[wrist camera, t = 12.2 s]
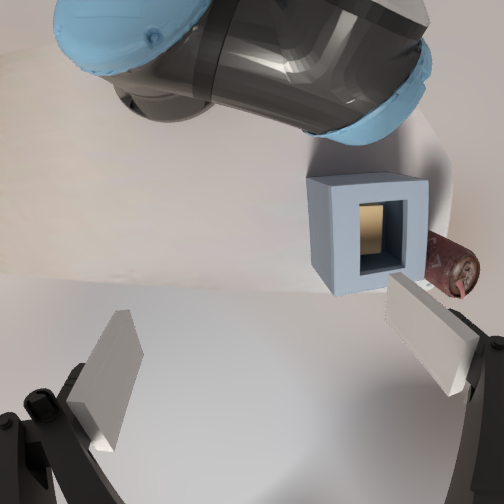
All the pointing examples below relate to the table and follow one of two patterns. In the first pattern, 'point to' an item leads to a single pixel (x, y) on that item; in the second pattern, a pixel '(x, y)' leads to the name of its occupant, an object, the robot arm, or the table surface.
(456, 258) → the can
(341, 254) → the coin box
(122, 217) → the table surface
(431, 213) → the table surface
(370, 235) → the wooden block
